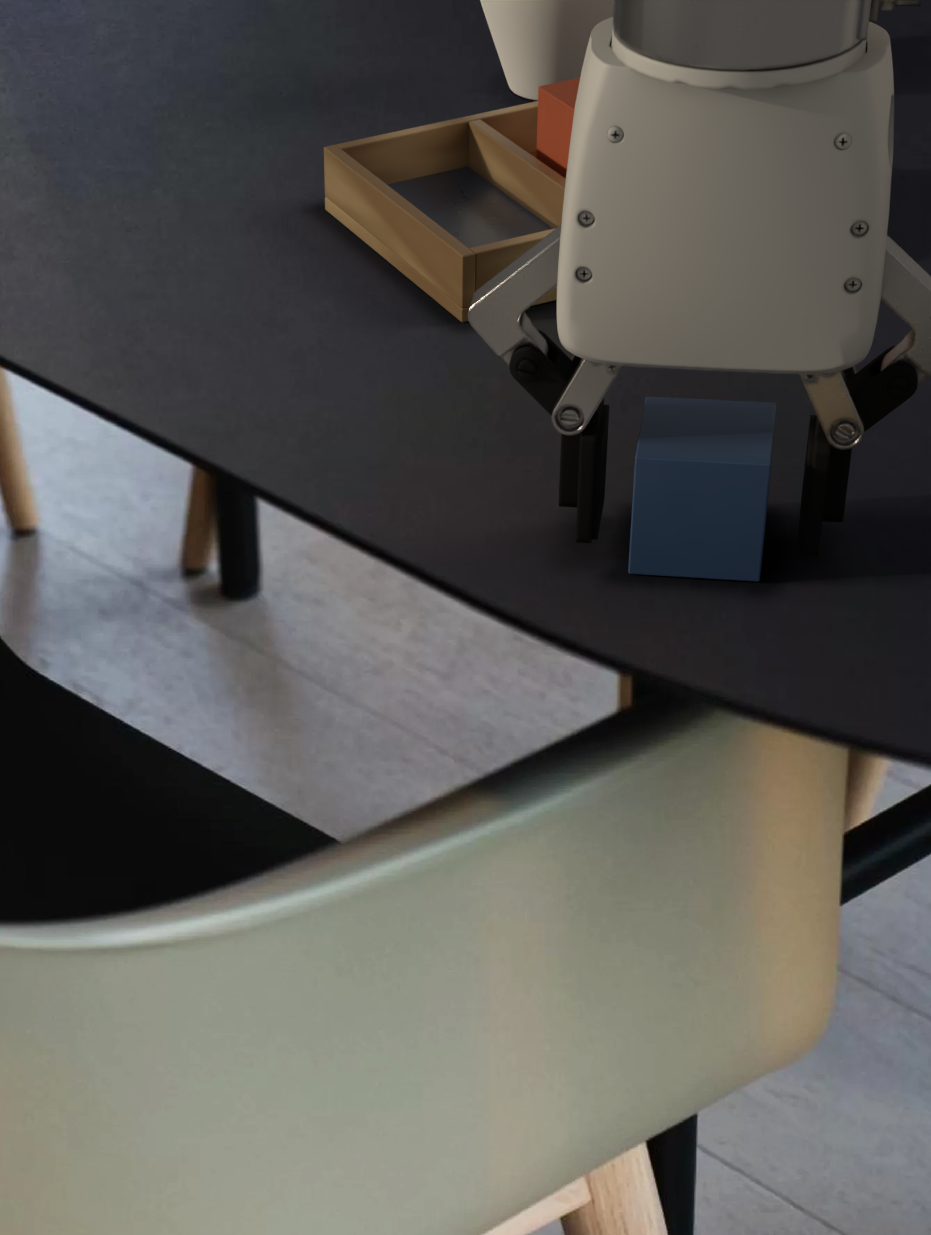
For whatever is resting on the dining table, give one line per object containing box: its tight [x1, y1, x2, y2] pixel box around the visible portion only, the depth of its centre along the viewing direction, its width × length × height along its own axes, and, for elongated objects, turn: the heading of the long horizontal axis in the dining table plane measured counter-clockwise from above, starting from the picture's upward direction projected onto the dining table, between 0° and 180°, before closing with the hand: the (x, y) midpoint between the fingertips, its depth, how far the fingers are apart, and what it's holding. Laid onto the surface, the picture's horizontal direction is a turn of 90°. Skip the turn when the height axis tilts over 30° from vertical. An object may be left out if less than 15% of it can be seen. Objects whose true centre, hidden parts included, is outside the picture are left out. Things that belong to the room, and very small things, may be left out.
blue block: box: [627, 396, 777, 583], centre depth 85 cm, size 4×4×4 cm
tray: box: [323, 100, 566, 323], centre depth 106 cm, size 14×13×3 cm
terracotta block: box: [536, 78, 580, 179], centre depth 106 cm, size 4×4×4 cm
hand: (698, 526), depth 86 cm, fingers open, 6 cm apart
